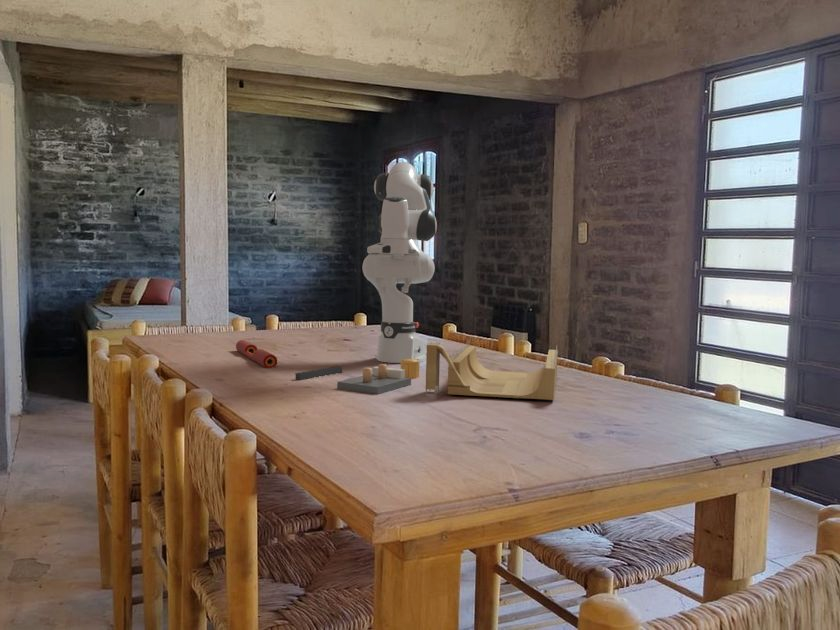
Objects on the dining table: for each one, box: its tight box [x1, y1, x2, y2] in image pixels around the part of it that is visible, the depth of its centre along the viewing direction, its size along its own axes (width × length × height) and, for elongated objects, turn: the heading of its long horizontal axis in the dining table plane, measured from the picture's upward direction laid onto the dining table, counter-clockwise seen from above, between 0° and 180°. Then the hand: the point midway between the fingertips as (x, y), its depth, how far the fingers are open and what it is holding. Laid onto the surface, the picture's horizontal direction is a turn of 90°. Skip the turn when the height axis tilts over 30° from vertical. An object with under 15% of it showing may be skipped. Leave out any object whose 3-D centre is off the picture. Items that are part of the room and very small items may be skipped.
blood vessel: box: [235, 339, 278, 369], centre depth 265 cm, size 42×5×5 cm, turn 26°
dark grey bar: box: [295, 366, 343, 381], centre depth 233 cm, size 19×3×4 cm
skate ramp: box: [425, 338, 559, 401], centre depth 223 cm, size 40×35×16 cm
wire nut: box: [400, 359, 420, 379], centre depth 234 cm, size 6×6×6 cm
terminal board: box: [336, 363, 412, 395], centre depth 217 cm, size 18×14×6 cm
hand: (393, 292), depth 233 cm, fingers open, 8 cm apart
